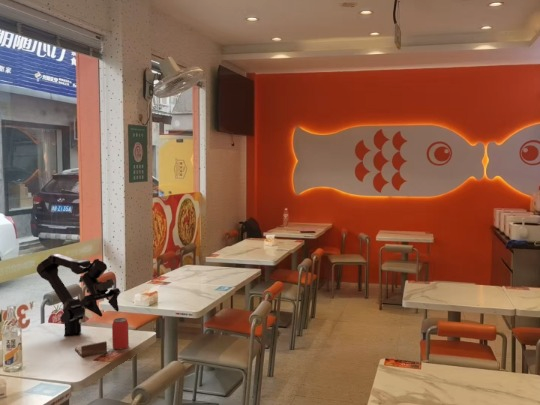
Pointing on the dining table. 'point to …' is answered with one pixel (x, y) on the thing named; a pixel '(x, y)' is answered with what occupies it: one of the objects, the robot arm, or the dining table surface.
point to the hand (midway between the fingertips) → (109, 313)
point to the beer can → (120, 333)
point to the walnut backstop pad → (92, 349)
